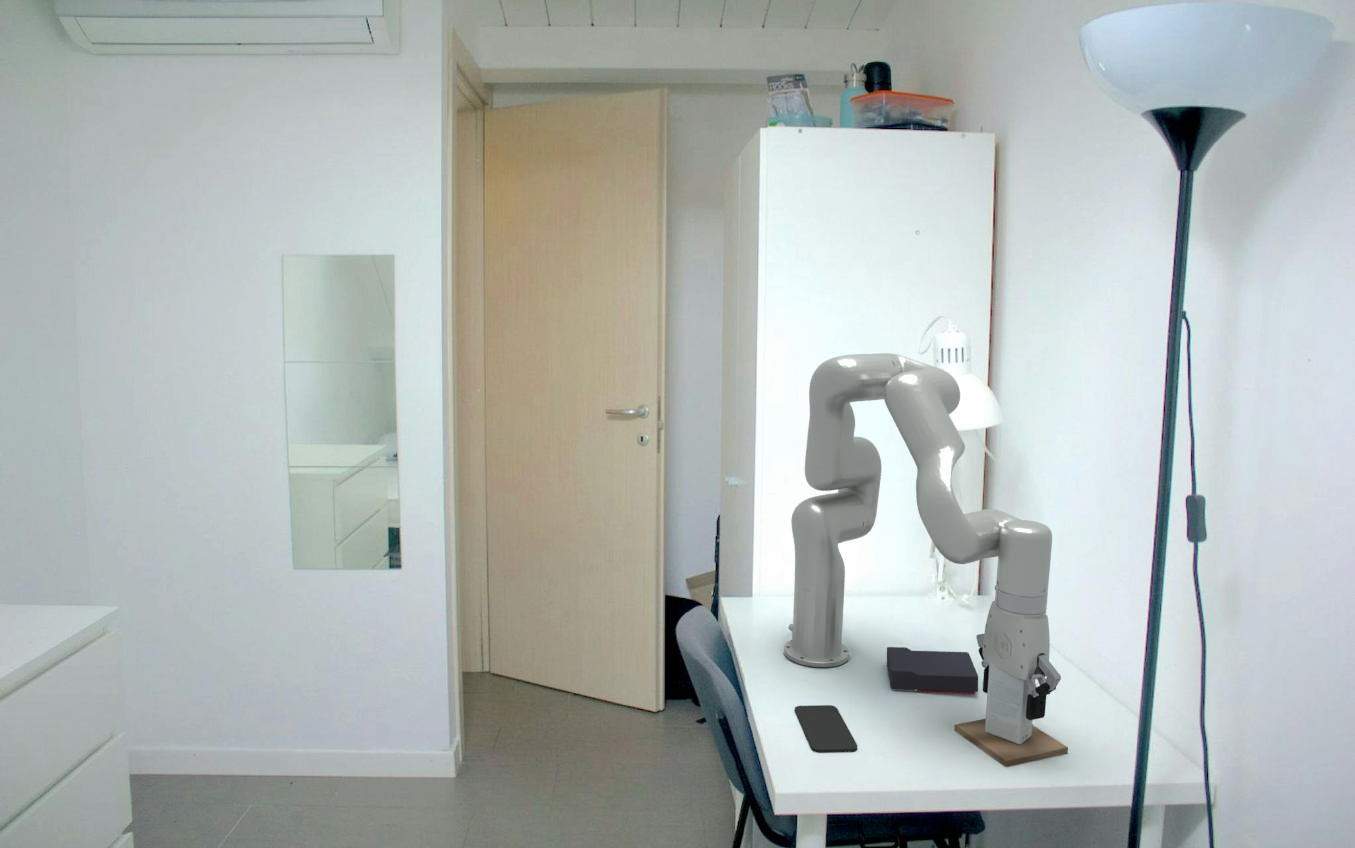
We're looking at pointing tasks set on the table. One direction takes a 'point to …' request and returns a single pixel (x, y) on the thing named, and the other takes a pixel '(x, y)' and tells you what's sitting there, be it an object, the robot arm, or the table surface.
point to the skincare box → (1007, 706)
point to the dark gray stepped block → (931, 671)
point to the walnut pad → (1011, 744)
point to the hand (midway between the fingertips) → (1012, 704)
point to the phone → (825, 729)
